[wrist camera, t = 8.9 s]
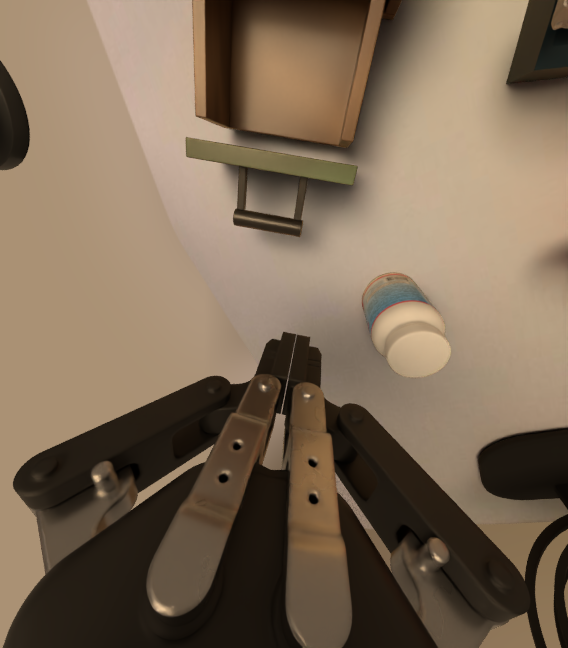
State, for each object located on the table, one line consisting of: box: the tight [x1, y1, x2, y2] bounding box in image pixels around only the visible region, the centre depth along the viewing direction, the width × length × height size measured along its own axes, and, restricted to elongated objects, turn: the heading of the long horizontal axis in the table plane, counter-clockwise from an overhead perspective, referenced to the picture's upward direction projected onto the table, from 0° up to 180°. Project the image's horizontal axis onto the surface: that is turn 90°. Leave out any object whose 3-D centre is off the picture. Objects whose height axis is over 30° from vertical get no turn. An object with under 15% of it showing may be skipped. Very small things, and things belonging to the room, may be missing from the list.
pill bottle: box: [362, 273, 451, 378], centre depth 25 cm, size 6×6×11 cm
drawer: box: [186, 0, 386, 237], centre depth 19 cm, size 19×12×6 cm, turn 172°
